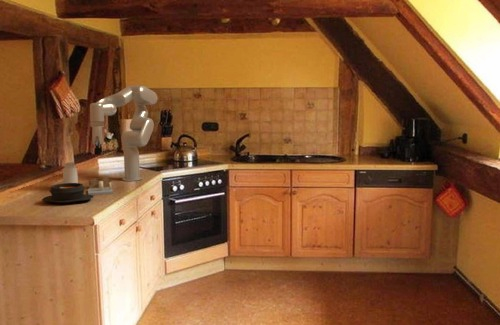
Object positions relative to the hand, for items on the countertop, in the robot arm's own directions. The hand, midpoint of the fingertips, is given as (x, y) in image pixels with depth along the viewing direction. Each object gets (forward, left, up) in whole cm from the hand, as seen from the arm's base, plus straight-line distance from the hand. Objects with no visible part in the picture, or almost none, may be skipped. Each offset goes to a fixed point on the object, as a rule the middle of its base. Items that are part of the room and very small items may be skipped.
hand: (98, 153), depth 254 cm
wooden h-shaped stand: (-2, 0, -20) cm, 21 cm away
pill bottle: (-7, -16, -21) cm, 27 cm away
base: (+12, 0, -20) cm, 24 cm away
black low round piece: (+29, -17, -21) cm, 40 cm away
